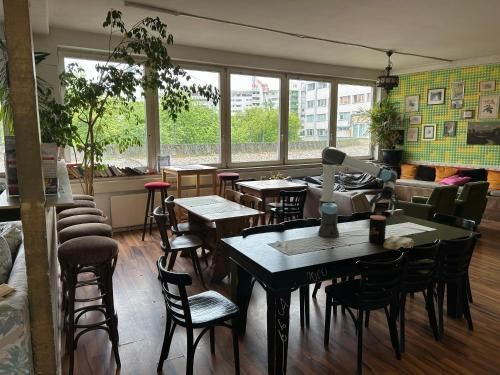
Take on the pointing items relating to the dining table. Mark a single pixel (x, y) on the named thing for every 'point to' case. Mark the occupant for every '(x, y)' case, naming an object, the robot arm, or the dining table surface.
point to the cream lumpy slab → (398, 242)
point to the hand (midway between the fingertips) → (382, 212)
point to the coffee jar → (377, 229)
